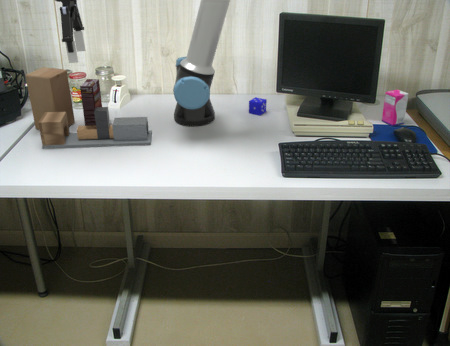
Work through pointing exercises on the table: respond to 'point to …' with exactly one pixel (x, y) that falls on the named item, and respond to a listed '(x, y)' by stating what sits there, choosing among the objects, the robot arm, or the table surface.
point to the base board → (97, 142)
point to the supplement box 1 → (90, 100)
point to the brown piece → (97, 126)
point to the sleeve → (130, 129)
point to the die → (257, 106)
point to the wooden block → (49, 93)
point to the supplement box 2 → (394, 107)
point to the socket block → (54, 128)
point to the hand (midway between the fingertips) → (77, 56)
